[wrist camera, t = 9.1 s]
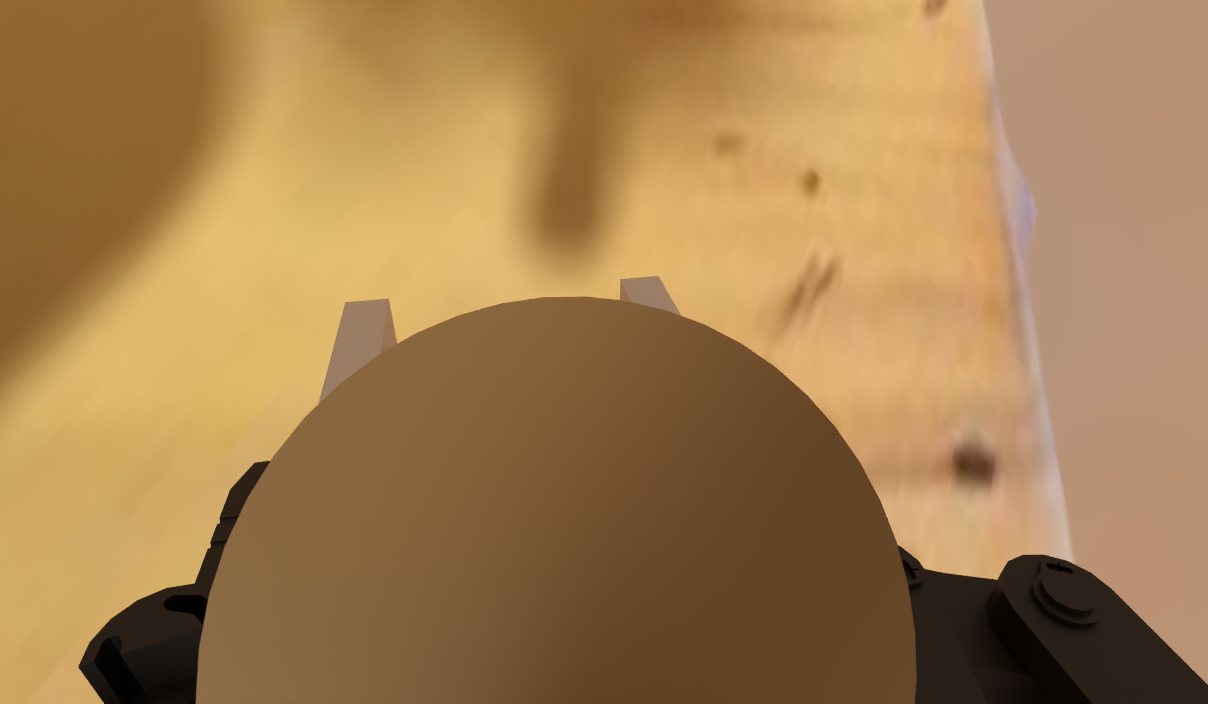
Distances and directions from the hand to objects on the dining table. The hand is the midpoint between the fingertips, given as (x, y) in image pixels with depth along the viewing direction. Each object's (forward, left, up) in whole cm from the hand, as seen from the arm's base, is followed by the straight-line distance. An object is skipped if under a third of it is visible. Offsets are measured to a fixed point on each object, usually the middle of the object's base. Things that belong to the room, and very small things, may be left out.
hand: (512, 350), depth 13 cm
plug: (+3, -3, -6) cm, 7 cm away
